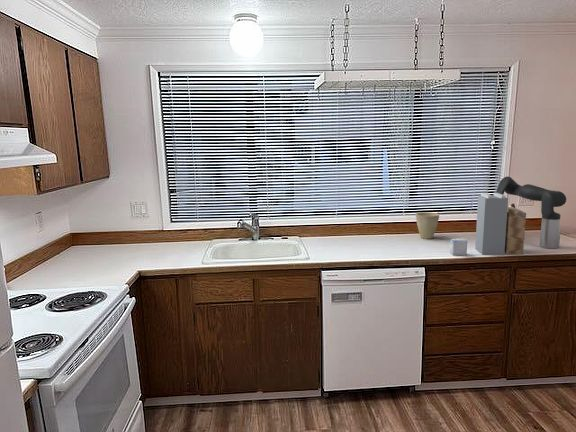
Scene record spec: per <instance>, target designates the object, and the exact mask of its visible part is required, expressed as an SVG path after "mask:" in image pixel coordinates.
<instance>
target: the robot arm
mask: <svg viewBox="0 0 576 432" xmlns="http://www.w3.org/2000/svg"><path fill="white" fill-rule="evenodd" d="M495 193H499V194H502V195H505V194H507V195H512V196H518V197H520V198H524V199H526V200H530V201H536V202H541V204H540V205H541V206H540V208H541V209H540V211H541V223H540V224H541V227H540V237H539V247H541V248H544V249H557V248H560V245H561V244H560V242H561V241H560V240H561V231H560V225H561V214H560V213H558V212H556V211H555V208H557V207H558V208H560V207H562V206H564V205H565V204H566V202H567V196H566V194H564V193H563V192H562V191H559V190H551V189H548V188H547V189H546V188H544V187H540V186H537V185H533V184H527V183H526V184H524V185H520V184H518V182H516V181H515V180H514V179H513V178H512V177H511V176H505V177H502V178H501V180H500V181H499V183H498V185H497V188H496V191H495ZM509 206H511V207H514V208H516V205H515V203H511V205H509Z"/></svg>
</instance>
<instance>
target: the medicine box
mask: <svg viewBox="0 0 576 432" xmlns="http://www.w3.org/2000/svg"><path fill="white" fill-rule="evenodd" d="M449 248H450V250H449V253H450V255H452V256H467V254H468V252H467V251H468V239H466V238H451V239H450V247H449Z"/></svg>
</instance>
